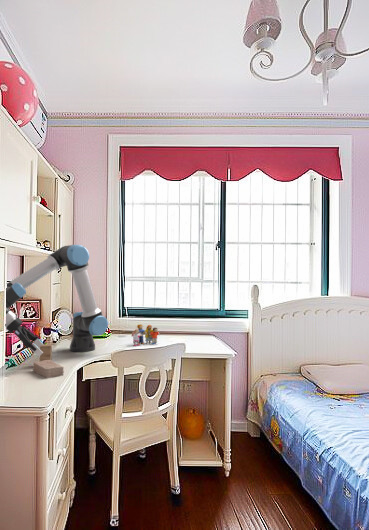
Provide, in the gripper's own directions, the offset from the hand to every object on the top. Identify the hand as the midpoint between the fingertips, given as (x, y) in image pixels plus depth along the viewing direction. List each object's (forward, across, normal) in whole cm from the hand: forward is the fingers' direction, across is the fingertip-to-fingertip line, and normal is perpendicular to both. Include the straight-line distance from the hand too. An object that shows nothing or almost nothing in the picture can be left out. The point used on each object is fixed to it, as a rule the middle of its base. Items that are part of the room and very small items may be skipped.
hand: (42, 351), depth 187 cm
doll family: (+45, -51, +36) cm, 77 cm away
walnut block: (+6, 0, -4) cm, 7 cm away
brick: (+8, +15, -2) cm, 17 cm away
